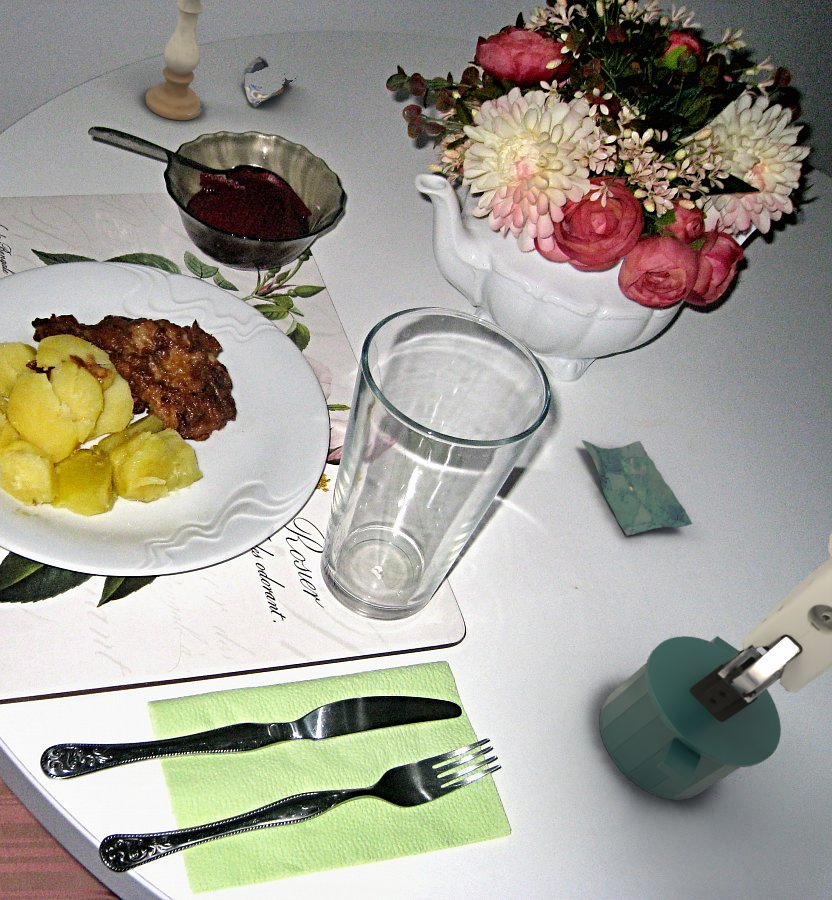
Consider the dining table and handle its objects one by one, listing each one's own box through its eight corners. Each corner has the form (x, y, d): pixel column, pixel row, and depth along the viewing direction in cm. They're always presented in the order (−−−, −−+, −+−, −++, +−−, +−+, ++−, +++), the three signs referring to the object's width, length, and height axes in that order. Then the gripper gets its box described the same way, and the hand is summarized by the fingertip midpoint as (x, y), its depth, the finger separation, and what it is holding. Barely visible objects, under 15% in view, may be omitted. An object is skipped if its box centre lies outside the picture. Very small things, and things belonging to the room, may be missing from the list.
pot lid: (785, 701, 77) (839, 664, 72) (752, 800, 70) (810, 767, 65) (664, 619, 80) (709, 578, 75) (622, 705, 73) (668, 667, 68)
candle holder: (178, 87, 142) (201, -48, 128) (212, 115, 139) (240, -20, 124) (133, 96, 138) (151, -43, 123) (167, 125, 134) (190, -14, 119)
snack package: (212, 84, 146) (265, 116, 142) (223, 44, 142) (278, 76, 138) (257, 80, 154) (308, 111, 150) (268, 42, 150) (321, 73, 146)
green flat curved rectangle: (684, 534, 99) (694, 524, 98) (623, 538, 97) (632, 527, 96) (632, 447, 107) (640, 436, 106) (575, 449, 105) (582, 438, 104)
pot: (730, 719, 84) (789, 677, 78) (680, 850, 75) (744, 814, 68) (631, 649, 87) (681, 604, 81) (571, 766, 78) (622, 725, 71)
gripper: (896, 664, 53) (721, 771, 66) (996, 548, 62) (824, 661, 75) (789, 571, 57) (641, 689, 69) (898, 472, 65) (750, 593, 78)
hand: (736, 675), depth 72 cm, fingers open, 9 cm apart
